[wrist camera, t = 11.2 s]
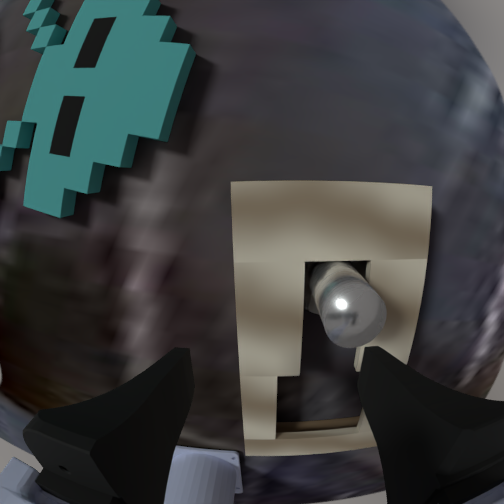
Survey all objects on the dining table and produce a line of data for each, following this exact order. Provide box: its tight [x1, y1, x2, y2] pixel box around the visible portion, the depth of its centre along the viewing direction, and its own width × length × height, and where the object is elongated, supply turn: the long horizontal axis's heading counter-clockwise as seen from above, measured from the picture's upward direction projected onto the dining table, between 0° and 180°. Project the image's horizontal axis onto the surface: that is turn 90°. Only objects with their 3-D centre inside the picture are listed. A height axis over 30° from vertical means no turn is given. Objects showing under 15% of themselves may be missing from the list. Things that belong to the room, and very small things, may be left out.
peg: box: [303, 260, 387, 348], centre depth 16 cm, size 6×6×8 cm
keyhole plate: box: [231, 180, 432, 456], centre depth 19 cm, size 22×12×3 cm, turn 1°
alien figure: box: [0, 0, 196, 218], centre depth 17 cm, size 20×2×20 cm
